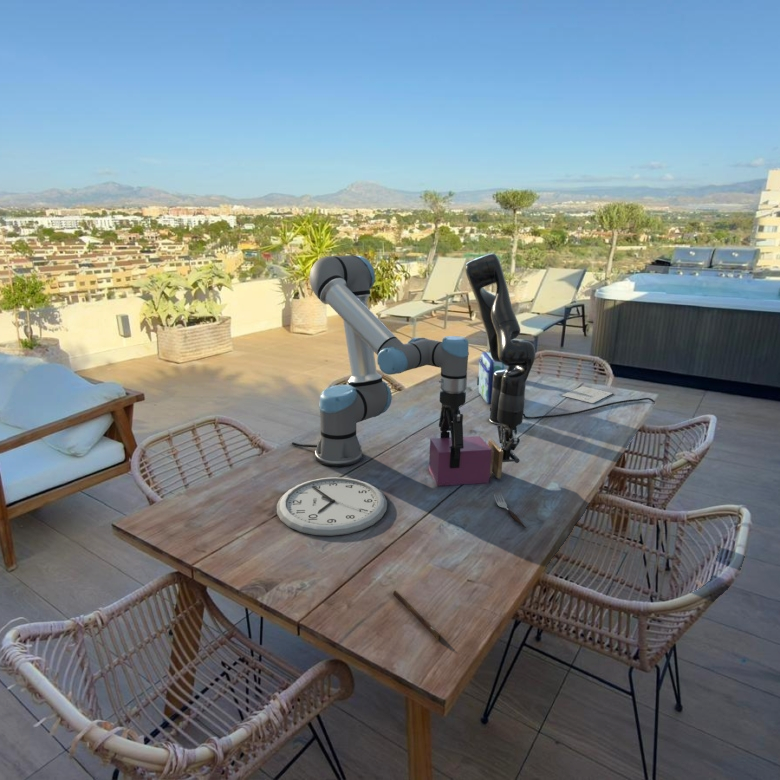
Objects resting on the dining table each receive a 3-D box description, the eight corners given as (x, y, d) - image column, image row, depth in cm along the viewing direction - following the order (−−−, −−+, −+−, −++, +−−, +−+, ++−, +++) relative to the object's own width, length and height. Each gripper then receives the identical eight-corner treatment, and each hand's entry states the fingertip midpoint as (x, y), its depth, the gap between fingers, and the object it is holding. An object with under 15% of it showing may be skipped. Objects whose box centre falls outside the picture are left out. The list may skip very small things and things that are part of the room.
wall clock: (392, 527, 129) (268, 531, 127) (391, 533, 130) (269, 537, 127) (383, 473, 158) (282, 475, 155) (383, 478, 158) (282, 480, 156)
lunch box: (475, 390, 246) (478, 346, 240) (498, 390, 246) (501, 347, 240) (484, 408, 221) (487, 360, 215) (509, 409, 221) (513, 360, 215)
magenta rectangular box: (477, 467, 167) (479, 435, 164) (489, 482, 157) (491, 449, 154) (428, 470, 164) (430, 438, 161) (437, 486, 154) (439, 452, 151)
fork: (520, 530, 132) (521, 523, 132) (492, 499, 147) (492, 493, 146) (529, 529, 133) (530, 522, 132) (500, 498, 147) (501, 492, 147)
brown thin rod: (392, 594, 108) (393, 590, 108) (394, 593, 109) (394, 589, 108) (438, 640, 96) (438, 636, 96) (440, 639, 97) (440, 635, 96)
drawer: (506, 463, 168) (509, 438, 165) (518, 477, 159) (521, 450, 156) (445, 467, 164) (446, 441, 162) (453, 481, 156) (455, 453, 153)
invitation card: (582, 386, 254) (612, 393, 244) (582, 386, 255) (612, 393, 244) (561, 395, 240) (592, 402, 230) (561, 395, 240) (592, 403, 230)
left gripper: (430, 379, 162) (428, 444, 169) (451, 403, 140) (447, 477, 147) (454, 378, 163) (450, 443, 170) (478, 402, 142) (473, 475, 148)
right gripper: (491, 400, 162) (486, 451, 167) (507, 414, 150) (501, 469, 155) (514, 399, 164) (508, 450, 169) (531, 414, 151) (525, 468, 156)
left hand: (449, 459), depth 158 cm, fingers closed on magenta rectangular box, 11 cm apart
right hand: (505, 459), depth 162 cm, fingers closed
